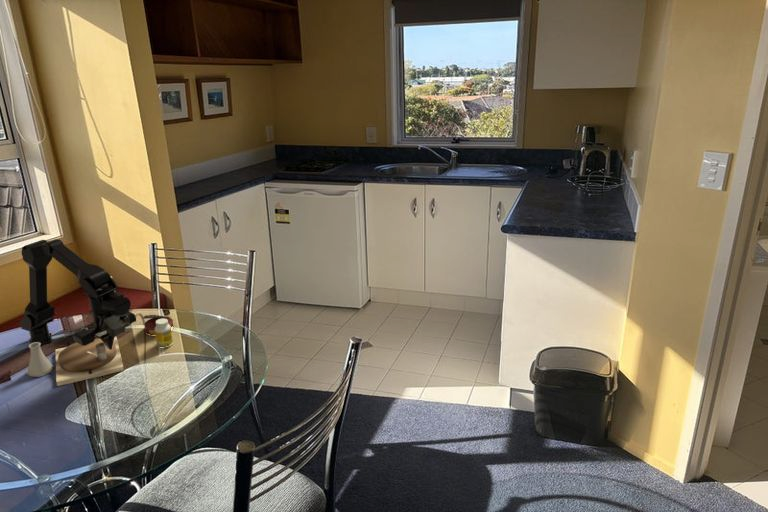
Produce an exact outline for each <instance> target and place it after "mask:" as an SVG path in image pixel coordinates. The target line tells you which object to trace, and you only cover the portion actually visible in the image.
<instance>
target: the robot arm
mask: <svg viewBox="0 0 768 512" xmlns="http://www.w3.org/2000/svg"><path fill="white" fill-rule="evenodd" d="M21 256H22V260H23V262H24V263H25V264H26V265H27V266H28V274H29V275H28V277H29V302H28V304H27V305H26V307H25V308H24V313H23V318H22V319H21V320H20V322H19V325H20V328H21V330H24V331H27V332H29V336H30V338H29V345H30V344H31V343H34V342H39V343H41V345H44V344H49V343H52V340H53V339H52V338H53V337H52V332H50V330H49V325H48V324H49V323H52V322H53V321H54V316H56V314H55V307H54V306H53V305H52V304H50V302H49V301H48V265H49V264H50V262H51V261H52V260H53V259H54V260H56V261H57V262H58V263H59V264H60V265H62V266H63V267H64V268H66V269H67V270H68V271H69V272H71V273H72V274H74V275H75V277H76V278H77V282H78V284H79V285H80V286H81V287H82V288H83V289H84V290H83V292H82V294H83V295H85V296H87V297H88V302H89V306H90V310H89V315H92V319H93V321H92V322H91V323H92V326H94V327H93V328H91V329H90V330H89V329H87V328H81V329H79V330H78V331H75V332H73V334H72V341H74V342H75V343H79V344H81V345H83V346H85V345H88V344H90V343H92V342H94V340H95V339H96V338H97V339H101V340H102V341H103V342H104V344H105V345H106V346H107V347H108V348H109V349H110V350H111V349H112V346H113V341H114V337H117V336H118V335H120V334H123V333H125V332H126V328H127V327H129V326H130V325H131V324H133V323H135V322H137V317H136V314H135V313H133V312H131V311H130V309H131V306H132V302H131V301H130V299H129V298H128V297H126V296H125V294H124V293H123V292H122V293H121V292H116V291H117V290H119V287H118V285H117V282H115V280H114V279H113V277H112V275H110V274H109V272H108V271H107V270H105V269H104V268H103V267H101V266H99V265H97V264H90V263H88V262H87V261H86V260H85V259H83V258H81V256H79V255H78V254H76V253H75V252H74V251H73V250H71V249H70V248H69V247H67V246H66V245H65V244H64V242H63V241H62V240H61V239H57V238H56V239H53V240H48V241H47V240H46V239H40V240H38V241H34V242H31V243H28V244H25V245H24V246H22V248H21ZM111 277H112V278H111ZM106 285H109V286H108V287H106V288H104V289H100V288H102V287H104V286H106Z"/></svg>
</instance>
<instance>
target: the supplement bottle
mask: <svg viewBox="0 0 768 512" xmlns="http://www.w3.org/2000/svg"><path fill="white" fill-rule="evenodd" d="M155 335H156V336H155V340H156V341H155V342H156V346H157V347H158V348H159V347H166V346H169V345H170V344H171V343H172V342H173V343H174V339H173V330H172V331H171V326H170V325H169V324H168V320H167V319H164V318H163V319H158V320H157V321H156V327H155Z"/></svg>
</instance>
